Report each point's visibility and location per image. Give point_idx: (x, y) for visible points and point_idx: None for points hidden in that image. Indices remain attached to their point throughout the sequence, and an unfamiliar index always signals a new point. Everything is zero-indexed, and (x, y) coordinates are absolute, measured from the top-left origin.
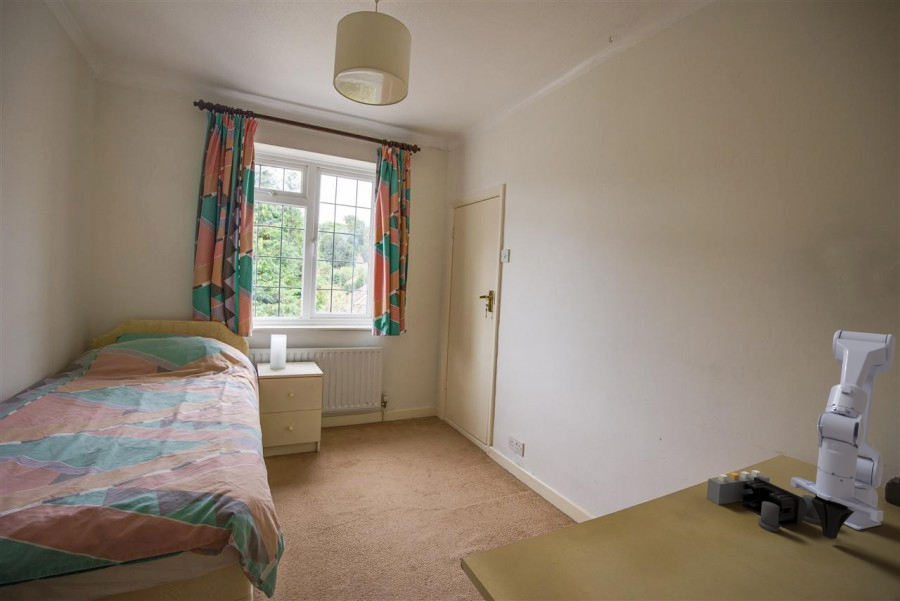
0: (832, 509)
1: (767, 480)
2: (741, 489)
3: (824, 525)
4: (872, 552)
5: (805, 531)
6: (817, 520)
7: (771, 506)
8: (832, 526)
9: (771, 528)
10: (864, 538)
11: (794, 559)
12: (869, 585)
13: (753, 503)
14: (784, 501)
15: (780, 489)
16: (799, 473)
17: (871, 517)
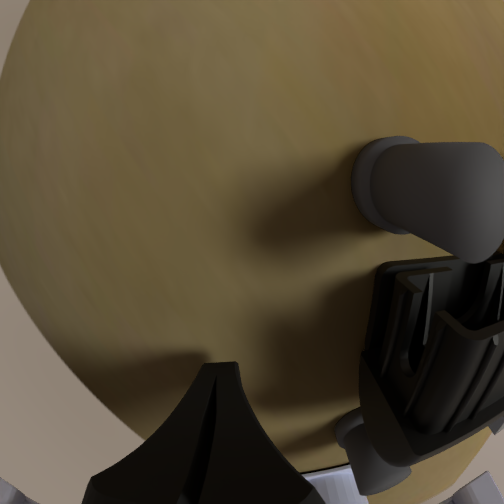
0: (116, 500)
1: (495, 423)
2: None
3: (224, 397)
4: None
5: (320, 348)
6: (338, 435)
7: (472, 177)
8: (175, 408)
9: (369, 150)
10: None
11: (141, 31)
12: (3, 204)
13: (497, 279)
14: (462, 348)
15: (492, 413)
16: (430, 486)
17: (4, 492)
